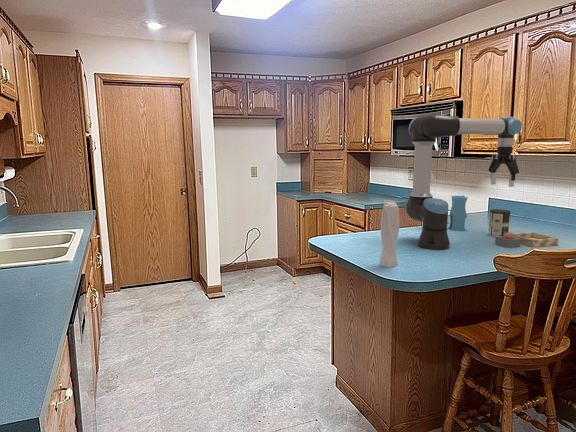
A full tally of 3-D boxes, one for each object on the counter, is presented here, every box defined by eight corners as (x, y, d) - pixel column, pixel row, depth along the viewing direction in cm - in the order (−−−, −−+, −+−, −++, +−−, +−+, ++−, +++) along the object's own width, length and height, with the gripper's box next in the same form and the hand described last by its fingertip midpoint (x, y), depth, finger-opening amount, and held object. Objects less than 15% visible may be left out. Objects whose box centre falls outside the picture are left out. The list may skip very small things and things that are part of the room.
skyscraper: (388, 268, 176) (391, 201, 171) (374, 264, 182) (377, 199, 177) (401, 265, 180) (404, 199, 176) (387, 261, 186) (390, 197, 182)
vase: (465, 231, 252) (467, 197, 249) (451, 230, 253) (453, 197, 250) (462, 228, 260) (464, 195, 256) (448, 228, 261) (450, 195, 257)
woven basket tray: (531, 247, 212) (532, 240, 212) (507, 240, 228) (508, 233, 227) (557, 245, 216) (558, 238, 216) (532, 238, 232) (533, 232, 231)
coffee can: (505, 233, 244) (507, 209, 242) (510, 237, 234) (513, 212, 232) (485, 233, 246) (487, 208, 244) (490, 236, 236) (492, 211, 234)
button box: (506, 247, 211) (507, 239, 210) (495, 244, 219) (495, 236, 218) (520, 246, 213) (520, 239, 212) (508, 243, 221) (509, 235, 220)
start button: (507, 241, 213) (508, 234, 212) (501, 240, 217) (501, 232, 216) (514, 241, 214) (515, 233, 213) (508, 239, 218) (509, 232, 218)
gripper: (529, 146, 220) (525, 187, 224) (494, 146, 244) (491, 183, 248) (516, 146, 218) (513, 187, 222) (483, 146, 242) (480, 183, 246)
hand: (501, 185), depth 235 cm, fingers open, 13 cm apart
